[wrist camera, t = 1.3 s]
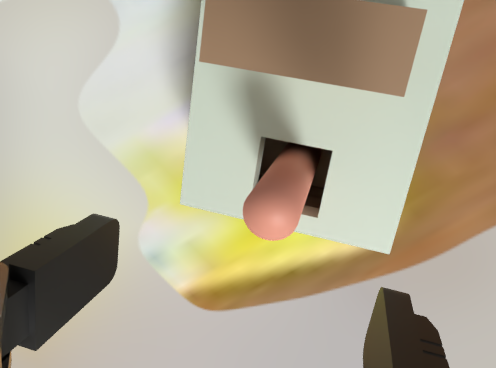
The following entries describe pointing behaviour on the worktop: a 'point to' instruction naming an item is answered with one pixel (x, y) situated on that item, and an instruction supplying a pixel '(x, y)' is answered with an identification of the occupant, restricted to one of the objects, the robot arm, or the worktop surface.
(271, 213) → the rounded rod
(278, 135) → the lid
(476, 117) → the worktop surface
